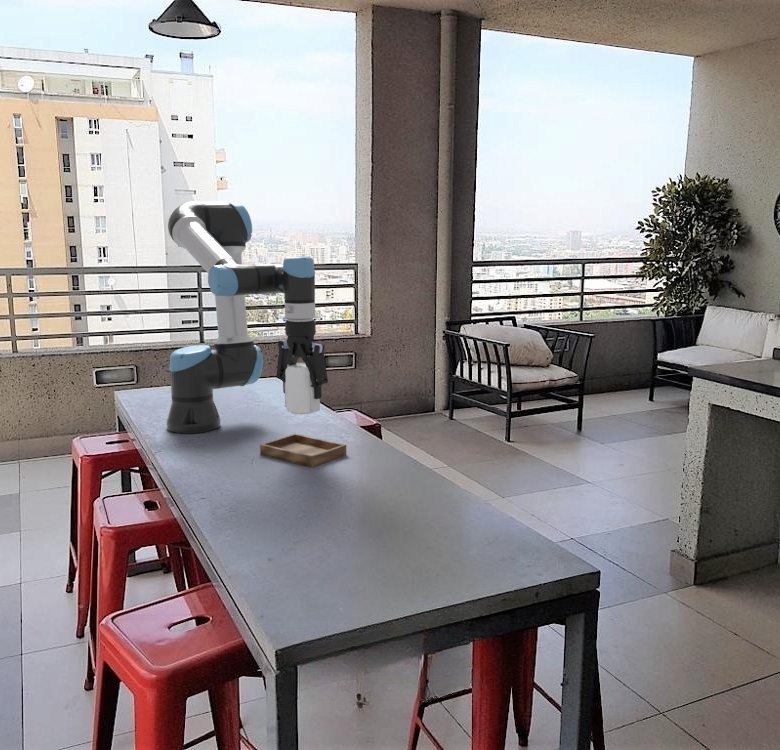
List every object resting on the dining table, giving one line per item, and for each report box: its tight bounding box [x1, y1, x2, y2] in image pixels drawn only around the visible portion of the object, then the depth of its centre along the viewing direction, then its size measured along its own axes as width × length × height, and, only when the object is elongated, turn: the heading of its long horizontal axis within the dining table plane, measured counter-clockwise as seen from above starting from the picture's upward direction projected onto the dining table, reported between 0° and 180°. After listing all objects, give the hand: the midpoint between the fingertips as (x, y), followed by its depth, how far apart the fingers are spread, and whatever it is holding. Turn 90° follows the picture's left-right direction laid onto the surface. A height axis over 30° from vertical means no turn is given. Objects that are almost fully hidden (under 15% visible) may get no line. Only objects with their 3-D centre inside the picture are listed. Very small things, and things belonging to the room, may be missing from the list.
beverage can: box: [285, 362, 317, 415], centre depth 187 cm, size 8×8×12 cm
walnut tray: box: [259, 433, 347, 468], centre depth 190 cm, size 18×13×3 cm
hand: (302, 408), depth 188 cm, fingers closed on beverage can, 8 cm apart
